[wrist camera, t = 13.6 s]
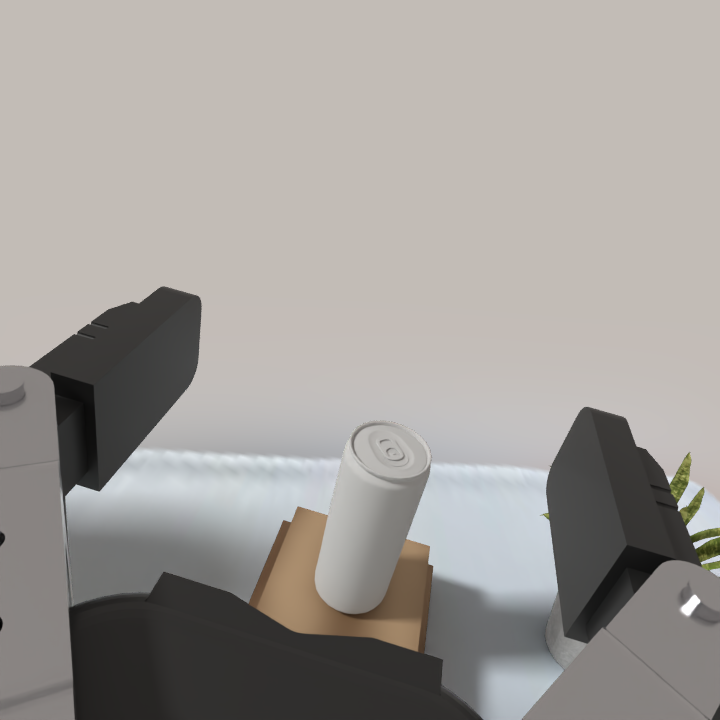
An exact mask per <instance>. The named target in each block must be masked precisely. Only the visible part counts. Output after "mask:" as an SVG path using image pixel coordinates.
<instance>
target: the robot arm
mask: <svg viewBox="0 0 720 720" xmlns="http://www.w3.org/2000/svg"><path fill="white" fill-rule="evenodd" d="M200 322H201V300H200V298H199V297H198V296H196V295H193V294H189V293H186V292H182V291H178V290H175V289H172V288H168V287H160V288H159V289H157V290H156V291H155V292H153V293H152V294H151V295H150V296H149V297H147V298H146V299H144V300H143V301H142V302H141V303H139V304H138V303H135V302H130V303H127V304H124V305H121V306H118V307H115V308H112V309H108V310H107V311H106V312H104V313H103V314H101V315H100V316H99V317H97V318H96V319H95V320H93V321H92V322H91V325H89V324H88V325H86V326H85V327H83V328H82V329H81V330H79V331H78V333H77V335H75V334H74V335H72V336H71V337H70V338H68V339H67V340H66V341H64V342H63V343H61V344H60V345H59V346H57V347H56V348H54V349H53V350H52V351H50V352H49V353H48V354H46V355H45V356H43V357H42V358H41V359H39V360H38V361H37V362H35V363H34V364H32V365H31V366H30V367H24V366H0V720H483V719H482V718H481V717H480V716H479V715H478V714H477V713H476V712H475V711H474V710H473V709H472V708H471V707H470V706H469V705H468V704H467V703H466V702H464V701H463V700H462V699H460V698H459V697H458V696H457V695H455V694H454V693H453V692H451V691H450V690H448V689H447V688H445V687H444V686H442V685H441V677H442V664H443V660H442V659H439V658H436V657H433V656H430V655H426V654H423V653H420V652H417V651H414V650H411V649H407V648H404V647H401V646H398V645H395V644H391V643H388V642H385V641H382V640H379V639H376V638H372V637H355V636H338V635H321V634H305V633H298V632H294V631H292V630H290V629H288V628H286V627H285V626H283V625H282V624H280V623H278V622H277V621H275V620H274V619H272V618H270V617H269V616H267V615H265V614H264V613H262V612H261V611H259V610H257V609H256V608H254V607H253V606H251V605H249V604H248V603H246V602H245V601H243V600H241V599H240V598H238V597H237V596H235V595H233V594H232V593H230V592H226V591H223V590H220V589H217V588H214V587H211V586H207V585H204V584H201V583H198V582H195V581H192V580H188V579H185V578H182V577H179V576H176V575H173V574H169V573H166V572H163V573H162V575H161V577H160V578H159V580H158V582H157V583H156V585H155V587H154V588H153V590H152V592H151V593H123V594H117V595H111V596H104V597H101V598H97V599H93V600H89V601H85V602H83V603H80V604H77V605H75V606H74V601H73V589H72V576H71V563H70V550H69V537H68V524H67V511H66V500H65V496H66V495H67V494H68V493H69V491H70V490H71V489H72V488H73V487H74V486H75V485H76V484H77V485H80V486H83V487H86V488H90V489H93V490H96V491H99V492H100V490H101V489H102V488H103V487H104V486H105V485H106V483H107V482H108V481H109V480H110V479H111V477H112V476H113V475H114V474H115V473H116V472H117V470H118V469H119V468H120V467H121V466H122V465H123V463H124V462H125V461H126V460H127V459H128V457H129V456H130V455H131V454H132V453H133V452H134V450H135V449H136V448H137V447H138V446H139V445H140V443H141V442H142V441H143V440H144V439H145V437H146V436H147V435H148V434H149V433H150V432H151V430H152V429H153V428H154V427H155V426H156V425H157V423H158V422H159V421H160V420H161V419H162V417H163V416H164V415H165V414H166V413H167V412H168V410H169V409H170V408H171V407H172V406H173V404H174V403H175V402H176V401H177V400H178V399H179V397H180V396H181V395H182V394H183V393H184V392H185V390H186V389H187V388H188V387H189V385H190V384H191V382H192V379H193V377H194V375H195V372H196V368H197V364H198V355H199V339H200V324H201V323H200ZM671 491H672V490H671V488H670V485H669V483H668V480H667V478H666V475H665V473H664V471H663V469H662V468H661V467H660V465H659V464H658V463H657V462H656V461H655V460H654V458H653V457H652V456H651V455H650V454H649V453H648V451H647V450H646V449H643V448H640V447H636V444H635V442H634V439H633V436H632V433H631V430H630V428H629V425H628V422H627V420H626V419H625V418H624V417H622V416H618V415H615V414H611V413H607V412H604V411H600V410H597V409H593V408H590V407H584V408H583V409H582V410H581V411H580V412H579V414H578V416H577V418H576V420H575V421H574V423H573V425H572V427H571V429H570V431H569V433H568V435H567V437H566V439H565V440H564V443H563V445H562V446H561V448H560V450H559V452H558V454H557V456H556V458H555V460H554V462H553V464H552V466H551V469H550V472H549V475H548V480H547V487H546V495H547V503H548V511H549V519H550V527H551V535H552V543H553V551H554V559H555V567H556V575H557V583H558V591H559V599H560V608H561V616H562V624H563V632H564V637H567V638H570V639H573V640H576V641H580V642H583V643H586V644H587V645H586V646H585V648H584V649H583V650H582V651H581V652H580V653H579V654H578V656H577V657H576V658H575V659H574V660H573V661H572V662H571V664H570V665H569V666H568V667H567V668H566V669H565V670H564V672H563V673H562V674H561V675H560V676H559V677H558V678H557V680H556V681H555V682H554V683H553V684H552V685H551V686H550V688H549V689H548V690H547V691H546V692H545V693H544V694H543V696H542V697H541V698H540V699H539V700H538V701H537V702H536V704H535V705H534V706H533V707H532V708H531V709H530V710H529V712H528V713H527V714H526V715H525V716H524V717H523V718H522V720H720V578H719V577H718V576H716V575H715V574H713V573H712V572H710V571H708V570H706V569H704V568H702V565H701V563H700V560H699V558H698V555H697V553H696V550H695V548H694V545H693V543H692V540H691V538H690V535H689V533H688V530H687V528H686V525H685V523H684V520H683V518H682V515H681V513H680V512H679V511H678V505H677V503H676V500H675V498H674V495H673V494H671Z"/></svg>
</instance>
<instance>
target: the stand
mask: <svg viewBox="0 0 720 720" xmlns="http://www.w3.org/2000/svg"><path fill="white" fill-rule="evenodd" d="M327 518H328V515H325V514H321V513H318V512H315V511H311V510H308V509H305V508H301V507H297V510H296V512H295V515H294V517H293V520H292V522H288V521H283V523H282V525H281V528H280V530H279V532H278V535H277V537H276V540H275V542H274V544H273V547H272V549H271V551H270V554H269V556H268V559H267V561H266V563H265V566H264V568H263V570H262V573H261V575H260V578H259V580H258V582H257V585H256V587H255V589H254V592H253V594H252V597H251V599H250V601H249V605H251V606H253V607H254V608H256V609H257V610H259V611H261V612H262V613H264V614H265V615H267V616H269V617H270V618H272V619H274V620H275V621H277V622H278V623H280V624H282V625H283V626H285V627H286V628H288V629H290V630H292V631H294V632H298V633H305V634H321V635H338V636H355V637H372V638H376V639H379V640H382V641H385V642H388V643H391V644H395V645H398V646H401V647H404V648H407V649H411V650H414V651H417V652H420V653H423V654H424V650H425V640H426V631H427V621H428V612H429V602H430V593H431V583H432V573H433V566H432V565H429V564H428V559H429V550H430V546H427V545H424V544H420V543H417V542H414V541H410V540H407V539H406V540H405V543H404V545H403V548H402V551H401V554H400V556H399V559H398V562H397V564H396V567H395V570H394V573H393V575H392V578H391V581H390V584H389V586H388V589H387V592H386V594H385V596H384V598H383V600H382V602H381V603H380V604H379V605H378V606H376V607H375V608H374V609H372V610H370V611H368V612H366V613H360V614H348V613H343V612H340V611H338V610H335V609H334V608H332V607H331V606H329V605H328V604H327V603H326V602H325V601H324V600H323V599H322V598H321V597H320V595H319V593H318V592H317V590H316V585H315V570H316V566H317V562H318V558H319V554H320V550H321V545H322V541H323V536H324V531H325V527H326V522H327Z"/></svg>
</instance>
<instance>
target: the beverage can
mask: <svg viewBox="0 0 720 720" xmlns="http://www.w3.org/2000/svg"><path fill="white" fill-rule="evenodd" d="M431 458H432V456H431V451H430V448H429V447H428V445H427V443H426V442H425V440H424V439H423V438H422V437H421V436H420V435H418V434H417V433H416V432H415V431H413V430H412V429H410V428H407V427H406V426H403V425H401V424H398V423H394V422H390V421H371V422H367V423H363V424H362V425H360V426H358V427H357V428H356V429H355V430H354V431H353V432H352V434H351V436H350V439H349V440H348V441H347V444H346V446H345V449H344V452H343V456H342V460H341V464H340V468H339V472H338V476H337V480H336V484H335V488H334V492H333V497H332V501H331V505H330V509H329V513H328V518H327V522H326V527H325V531H324V536H323V541H322V545H321V550H320V554H319V558H318V562H317V566H316V570H315V585H316V590H317V592H318V593H319V595H320V597H321V598H322V599H323V600H324V601H325V602H326V603H327V604H328V605H329V606H331V607H332V608H334V609H335V610H338V611H340V612H343V613H348V614H360V613H366V612H368V611H370V610H372V609H374V608H375V607H376V606H378V605H379V604H380V603H381V602H382V600H383V598H384V596H385V594H386V592H387V589H388V586H389V584H390V581H391V578H392V575H393V573H394V570H395V567H396V564H397V562H398V559H399V556H400V554H401V551H402V548H403V545H404V543H405V540H406V537H407V534H408V532H409V529H410V526H411V524H412V521H413V518H414V515H415V513H416V510H417V507H418V505H419V502H420V499H421V496H422V494H423V491H424V488H425V485H426V483H427V480H428V477H429V473H430V464H431Z"/></svg>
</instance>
